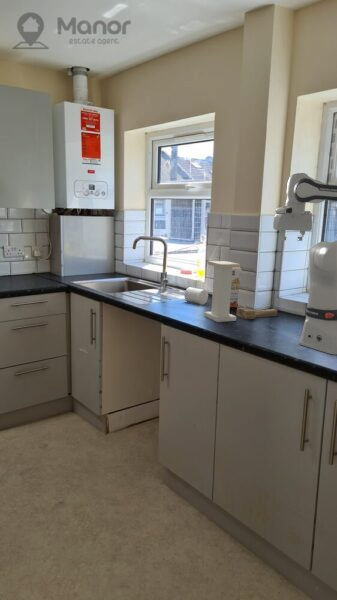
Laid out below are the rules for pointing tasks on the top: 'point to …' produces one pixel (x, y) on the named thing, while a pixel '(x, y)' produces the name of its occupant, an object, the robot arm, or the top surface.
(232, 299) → the cracker box
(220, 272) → the stand
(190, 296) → the mug
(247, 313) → the mallet
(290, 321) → the top surface
